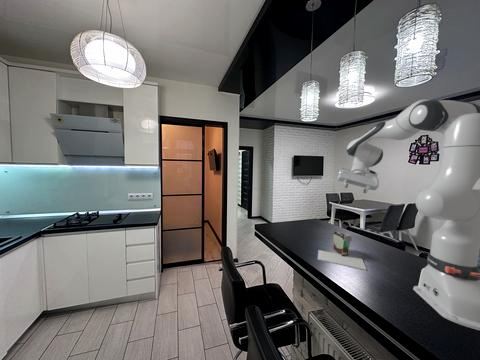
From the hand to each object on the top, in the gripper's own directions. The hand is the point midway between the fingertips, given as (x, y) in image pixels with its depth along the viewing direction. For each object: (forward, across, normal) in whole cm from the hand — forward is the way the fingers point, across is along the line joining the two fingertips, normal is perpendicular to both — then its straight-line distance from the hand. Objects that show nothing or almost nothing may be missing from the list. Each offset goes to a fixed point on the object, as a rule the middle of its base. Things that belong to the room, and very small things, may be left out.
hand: (355, 189), depth 105 cm
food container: (+30, +4, +18) cm, 35 cm away
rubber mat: (+36, +2, +12) cm, 38 cm away
